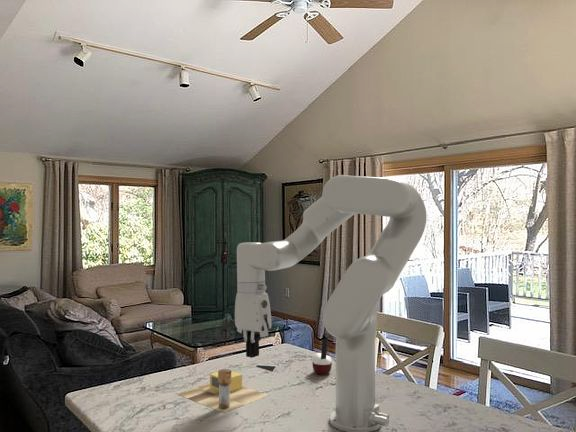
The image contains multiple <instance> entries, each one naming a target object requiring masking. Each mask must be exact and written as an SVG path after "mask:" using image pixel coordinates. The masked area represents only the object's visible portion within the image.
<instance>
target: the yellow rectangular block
mask: <svg viewBox="0 0 576 432" xmlns="http://www.w3.org/2000/svg"><path fill="white" fill-rule="evenodd" d="M209 383H210V388H211V389H213V390H216V391H219V384H218V371H215V372H213V373H210V374H209ZM242 386H243V374H242V373H239V372H236V371H233V370H231V384H230V393H231V392H233V391H236V390H239V389H242Z"/></svg>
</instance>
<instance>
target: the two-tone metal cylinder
mask: <svg viewBox="0 0 576 432" xmlns="http://www.w3.org/2000/svg"><path fill="white" fill-rule="evenodd" d="M231 371H232V370H231V369H224V368H223V369H219V370H218V371H217V372H218V384H219V408H221V409H226V408H229V407H230V384H231Z"/></svg>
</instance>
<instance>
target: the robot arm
mask: <svg viewBox="0 0 576 432" xmlns="http://www.w3.org/2000/svg"><path fill="white" fill-rule="evenodd" d="M355 214H356V215H357V214H359V215H368V216H369V215H371V216H378V217H379V216H380V217H388V218H389V220H388V223H387V225H386V226H385V227H384V229H383V230H382V232H381V233H380V235H379V236H378V237H377V240H376V241H375V244H374V245H373V246H372V248H371V249H370V251H369V252H368V253H367V255H365V256H362V257H359V258H357V259H355V260H354V261H353V262H352V263H351V264H350V265H349V266H348V267H347V269H346V271H345V272H344V274H343V275H342V277H341V278H340V280H339V282H338V283H337V285H336V287H335V289H334V290H333V291H332V293H331V295H330V297H329V298H328V300H327V301H326V304H325V306H324V309H323V311H322V322H323V326H324V327H325V328H324V329H325V330H326V331H327V333H328V334H330V335H331V336H332V337H334V338H336V340H335V410H333V411H332V412H331V413H330V414H329V418H328V419H329V420H328V421H329V423H330V425H331V426H332V427H334V428H335V429H337V430H340V431H343V432H374V431H377V430H378V429H380V428H381V427H386V428H388V426H389V424H390V415H389V414H387V413H384V412H381V411H380V404H377V403H376V339H377V338H376V337H377V324H378V308H377V304H378V302H379V301H380V300H381V298H382V296H383V295H385V294H386V293H388V292H389V291H390V290H391V289H393V287H394V286H395V284H396V282H397V280H398V278H399V276H400V275H401V273H402V271H403V270H404V268H405V267H406V265H407V263H408V262H409V260H410V258H411V256H412V255H413V252H414V251H415V249H416V247H417V246H418V245H419V243H420V241H421V238H422V237H423V235H424V233H425V229H426V225H427V216H428V215H427V209H426V206H425V202H424V200H423V198H422V196H421V195H420V193H419V192H418V190H417V189H416V188H415V187H413V186H412V185H411V184H410V183H408V182H405V181H402V180H399V179H397V178H392V177H380V176H378V177H376V176H362V175H361V176H360V175H359V176H358V175H346V174H338V175H335V176H333V177H331V178H330V179H328V180H327V181H326V183H325V184H324V186H323V189H322V196H321V197H320V198H318V199H316V201H315V202H314V203H312V204H311V205H310V206H308V207H307V208H306V209H305V210H304V211H303V213H302V218H303V220H302V223H301V224H300V225H299V227H298V228H297V229H296V230H295V231H293V232H292V233H291V234H290V235H288V236H287V237H286V238H285V239H282V240H276V241H267V242H257V241H256V242H255V241H253V242H252V241H251V242H250V241H249V242H240V243H238V245H237V247H236V273H237V275H236V276H237V277H236V279H237V280H236V281H237V283H236V284H237V293H236V295H235V301H234V302H235V304H234V325H235V327H236V331H237V332H238V333H240V334H241V335H242V336H243V341H244V342H245V356H246V358H251V359H252V358H256V357H259V356H260V341H261V340H262V338H264V337H268V336H269V330H270V329H272V313H271V310H272V309H271V304H270V299H269V298H270V297H269V295H268V293H267V292H266V290H267V288H268V286H267V285H266V271H269V272H271V271H278V270H283V269H289V268H291V267H293V266H295V265H296V264H298V263H299V262H300V261H302V260H303V259H304V258H306V257H307V256H308V255H310V254H311V253H312V252H313V251H314V250H316V249H317V247H319V245H320V244H321V243H322V242H324V240H325V238H326V237H327V236H329V235H330V234H331V233H333V232H334V231H335V230H336V229H338V228H339V227H340V226H341V225H342V224H344V223H345V222H346V221H348V220H349V219H350V218H352V217H353V216H354V215H355Z"/></svg>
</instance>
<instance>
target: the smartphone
mask: <svg viewBox="0 0 576 432" xmlns="http://www.w3.org/2000/svg"><path fill="white" fill-rule="evenodd" d="M278 367H279V366H278V365H277V364H266V363H257V364H256V365H255V368H259V369H262V370H266V371H269V372H273V373H274V372H275V371H276V370H277V368H278Z"/></svg>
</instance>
